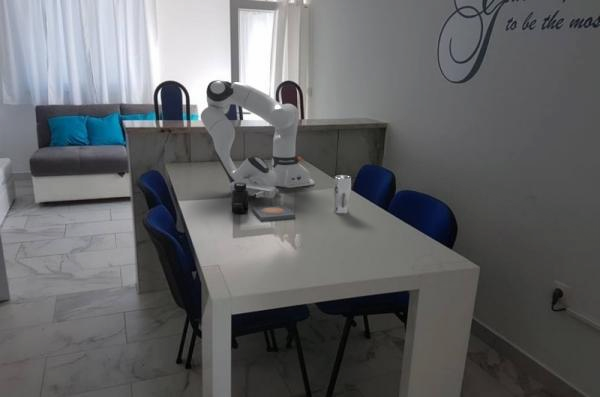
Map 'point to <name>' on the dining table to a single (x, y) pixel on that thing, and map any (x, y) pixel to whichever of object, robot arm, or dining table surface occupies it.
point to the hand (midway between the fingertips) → (245, 194)
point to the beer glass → (342, 193)
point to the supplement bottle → (239, 199)
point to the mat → (273, 212)
